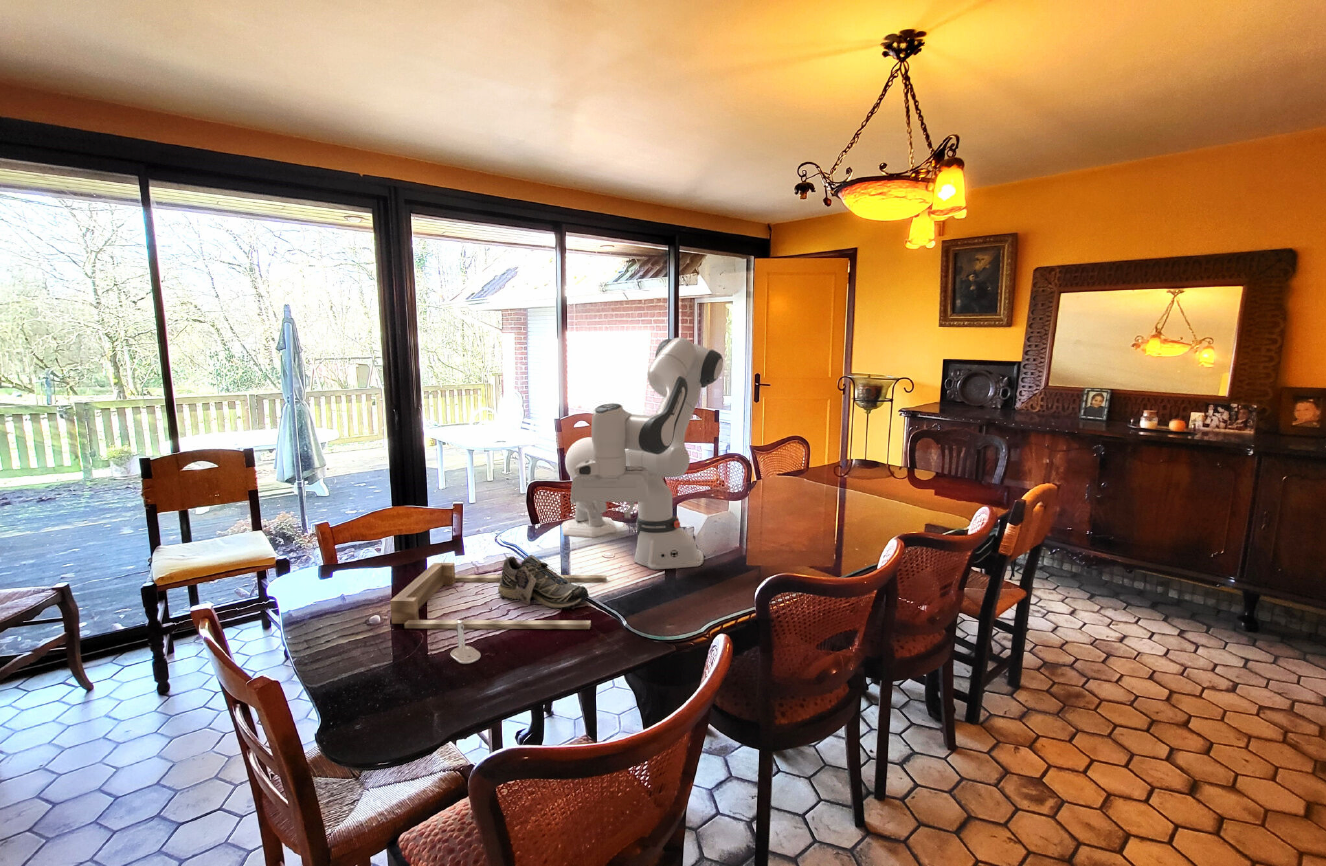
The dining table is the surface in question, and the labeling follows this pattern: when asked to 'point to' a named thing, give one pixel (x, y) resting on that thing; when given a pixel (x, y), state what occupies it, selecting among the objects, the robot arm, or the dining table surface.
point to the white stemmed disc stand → (464, 648)
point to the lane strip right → (497, 577)
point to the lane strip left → (500, 624)
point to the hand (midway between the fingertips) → (610, 517)
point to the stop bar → (421, 591)
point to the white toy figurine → (582, 521)
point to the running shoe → (538, 584)
